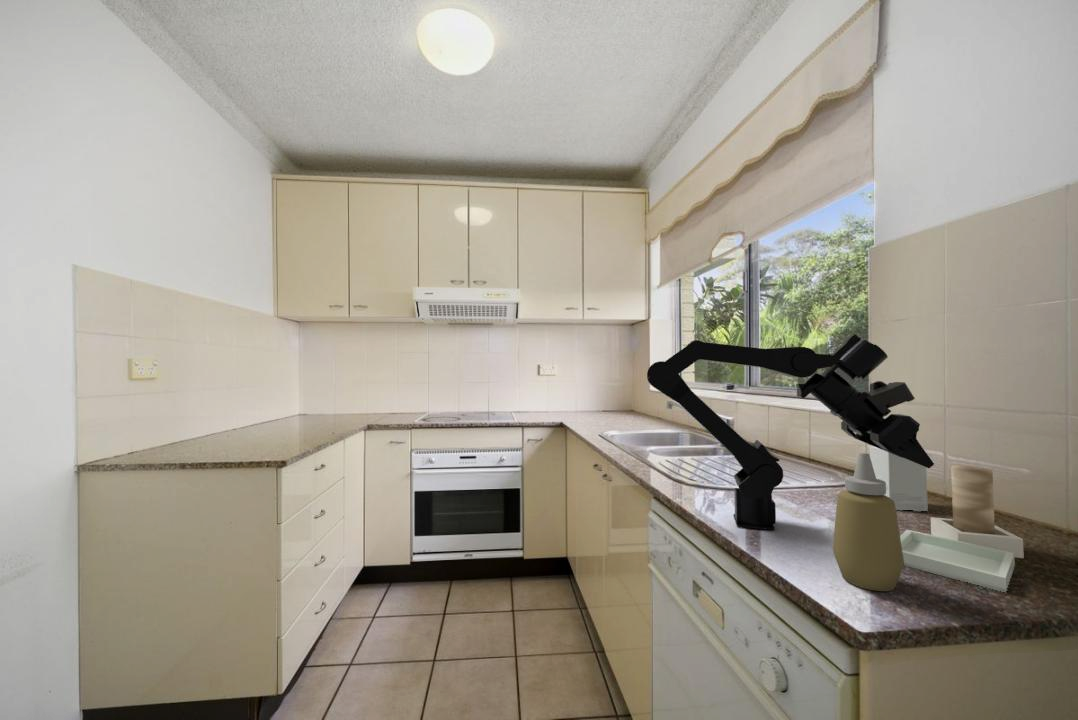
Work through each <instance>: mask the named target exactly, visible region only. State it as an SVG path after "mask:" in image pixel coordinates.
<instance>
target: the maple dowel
mask: <svg viewBox="0 0 1078 720" xmlns="http://www.w3.org/2000/svg"><path fill="white" fill-rule="evenodd" d="M950 470H951V471H950V473H951V496H952V497H951V501H952V519H953V527H954V528H956V529H958V530H960V531H961V532H970V533H981V534H992V535H995V526H996V525H995V524H996V523H995V503H994V502H995V501H994V500H995V499H994V498H995V497H994V476H993V475H994V472H993V469H990V468H985V467H979V466H972V465H961V464H960V465H959V464H958V465H957V464H955V465H951V467H950Z"/></svg>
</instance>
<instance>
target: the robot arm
mask: <svg viewBox="0 0 1078 720" xmlns="http://www.w3.org/2000/svg"><path fill="white" fill-rule="evenodd" d="M888 358H889V357H888V354H887V353H886V352H885V351H884V349H882V348H881V347H880V346H878V345H877V344H876V343H875V344H873V343H872V342H870V341H868V340H866V339H864V338H862V337H859V336H858V335H857V334H851V335H849V336H848V337H847V338H845V340H844V342H843V343H841V345H840V346H839V347H838V348H837V349H836V350H835V351H833V352H832V353H831V354H830V353H825V354H823V353H816V351H814V349H812V348H811V347H805V346H789V347H772V348H770V347H769V348H761V347H760V348H758V347H751V346H743V345H735V344H734V345H733V344H732V345H731V344H724V343H717V342H715V343H714V342H706V341H702V340H697V339H694V340H692V341H690V342H688V343H687V345H686V346H684V347H683V348H682V349H681V350H679V351H678V352H676V353H675V354H673V355H672V356H671V357H669V358H668V359H667V360H665V361H664V360H663V361H656V362H653V363H652V364H651V365H650V366H649V367H648V370H647V372H646V378H647V381H648V383H649V385H650V386H652V387H653V388H654V389H656V390H657V391H659V392H660V393H662V394H663V395H665V396H666V397H668V398H669V399H672V400H673V401H674V402H676V403H678V404H679V405H680V406H681V407H682V408H683V409H684V410H685V411H686V412H688V413H689V414H690V415H691V416H692V418H694V419H695V420H696V421H697V422H698V423H699V425H700V424H701V426H703V428H704V429H706V430H707V432H708V433H709V434H711V435H712V436H713V437H714V439H716V440H717V441H718V442H719V443H721V445H722V446H723V447H725V448H726V449H727V450H728V451H729V452H730V453H731V454H732V455H733V457H734V458H735V459H736V461H737V462H738V464H739V465H740V466H741V467H742V468H741V469H740V470H739V471H738V472H736V473H735V474H734V476H733V478H734V480H735V482H736V483H735V484H736V485H737V486H738V487H737V488H734V490H733V491H734V514H733V520H734V522H735V525H736V526H737V527H739V528H747V529H748V528H749V529H758V530H766V531H767V530H768V531H775V530H776V528H775V527H776V526H774V525H776V524H777V522H776V521H777V512H776V509H777V508H776V502H775V501H774V499H773V491H774V489H775V488H776V487H778V486H779V485H781V484H782V482H783V480H784V470H783V467H782V466H781V465H780V464H779V462H780V461H781V460H780V458H778V457H777V456H776V455H775V454H774V453H773V452H771V451H769V450H768V449H767V448H766V447H765V445H764V444H763V443H762V442H761V441H760V440H758V439H756V440H755V441H754V442H753V444H752V443H751V442H750V441H748V440H746V439H745V438H743V437H742V436H741V435H740V434H739V433H738V432H737V431H736V430H734V428H732V427H731V426H730V425H729V424H728V423H727V422H726V421H725V420H724V419H723V418H722V417H721V416H719V415H718V414H717V413H716V411H714V410H713V409H712V408H711V407H710V406H709V405H707V403H706V402H705V401H703V399H702V398H700V397H699V396H698V395H697V394H695V392H694V391H693V390H692V389H691V388H690V387H689V385H688V384H687V383H686V382H685V380H684V379H683V377H682V375H680V374H681V373H682V372H683V371H684V370H686V369H687V368H689V367H691V366H692V365H693V364H695V363H696V362H697V361H708V362H715V363H722V364H723V363H724V364H732V365H739V366H747V367H755V368H759V369H763V370H764V369H765V370H766V371H770V372H772V373H776V374H779V375H784V376H787V377H790V378H801V379H802V378H808V377H809V378H808V379H807V380H806V381H804V383H798V382H797V383H795V386H796V397H797V398H800V399H805V398H807V396H808V395H810V394H811V396H813V397H814V398H815V399H816V400H817V401H819V403H821V404H823V406H825V407H826V408H827V409H828V410H829V413H830V414H831V415H833V416H835V417H838V419H840V420H841V423H840V427H841V428H840V430H842V431H843V432H844V433H845V434H847V435H848V436H850V437H852V438H854V440H858V441H860V442H862V443H865V444H867V445H869V446H874V447H877V448H879V449H882V450H884V451H887V452H889V453H891V454H894V455H896V456H899V457H901V458H905V459H908V460H910V461H912V462H915V463H917V464H919V465H922V466H924V467H926V469H927V468H928V469H930V468H932V467H933V466H935V463H934V462H933V460H932V459H931V458H930V456H929V455H928V453H927V451H926V450H925V449H924V448H923V446H922V445H921V443H920V442H919V440H918V439H917V434H918V432H919V431H920V426H921V424H920V423H919V422H918V421H916V420H915V419H914V418H913V417H912V416H910V415H905V414H901V413H900V414H899V413H897V414H896V413H895V414H894V413H891V412H892V410H890V408H893V407H896V406H898V405H901V404H903V403H906V402H912V401H914V400H915V399H916V397H915V396H914V395H913V393H912V391H911V390H910V388H909V386H908V385H907V383H906V381H905V382H902V381H895V382H888V383H885V382H884V381H882V380H881V381H880V380H877V381H874V382H871V383H870V384H869V391H862V390H861V391H859V389H857V388H856V387H855V386H853V385H852V384H851V383H850V382H848V381H854V380H855V379H856V380H859V381H863V380H864V379H865V378H867V377H868V376H869V375H870V374H871V373H872V372H873V371H874V370H876V369H877V368H878V367H879V366H880V365H881V364H882V363H883V362H884V361H886V360H887V359H888ZM826 368H827V369H826ZM821 369H825V370H824V371H823V372H821V373H820V374H819V373H816V372H817V370H821ZM843 377H844V378H843ZM846 379H847V380H848V381H847V380H846ZM886 416H887V417H886ZM884 417H886V418H884Z"/></svg>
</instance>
